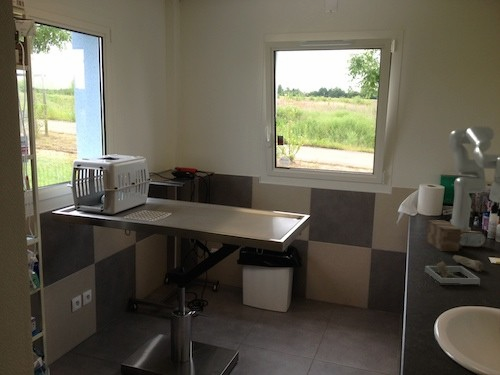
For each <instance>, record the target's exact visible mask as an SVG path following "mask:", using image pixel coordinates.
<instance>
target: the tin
mask: <svg viewBox="0 0 500 375" xmlns="http://www.w3.org/2000/svg"><path fill="white" fill-rule="evenodd" d="M486 241H487V237H486V235H485V234H484V233H483V232H482V231H480V230H472V229H471V230H461V235H460V242H459V245H462V247H472V248H474V247H475V248H480V247H483V246H484V245H485V244H486V243H487V242H486Z"/></svg>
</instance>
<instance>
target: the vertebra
mask: <svg viewBox="0 0 500 375" xmlns="http://www.w3.org/2000/svg"><path fill="white" fill-rule="evenodd" d="M436 266H437V267H438V268H439V270H440V271H438V273H437V274H438V275H439V276H440V277H442V278H450V277H453V278H462V277H461V276H459V275H455V273H453V272H452V273H451V271H450V270H449V269H447V267H446V266H447V264H446V263H445V262H444V260H443V261H441V262H438V263H436Z"/></svg>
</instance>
